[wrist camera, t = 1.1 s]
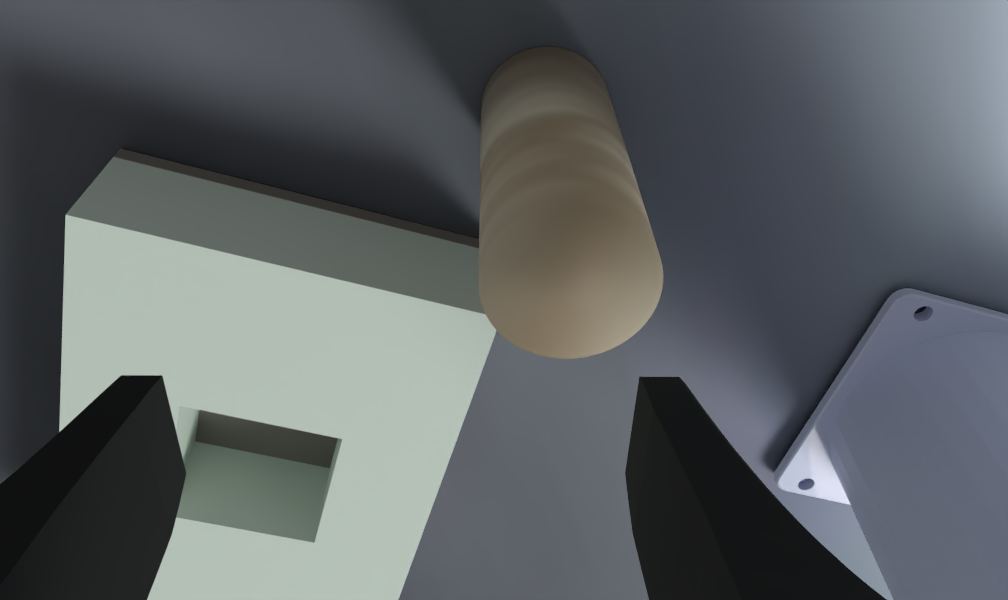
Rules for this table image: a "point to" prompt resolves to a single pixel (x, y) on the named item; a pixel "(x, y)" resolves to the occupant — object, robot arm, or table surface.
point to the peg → (560, 211)
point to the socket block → (277, 370)
